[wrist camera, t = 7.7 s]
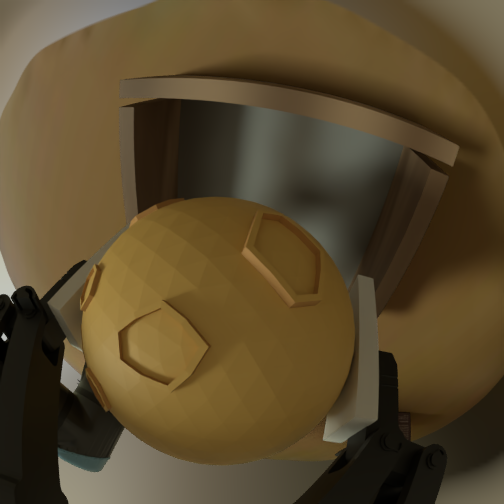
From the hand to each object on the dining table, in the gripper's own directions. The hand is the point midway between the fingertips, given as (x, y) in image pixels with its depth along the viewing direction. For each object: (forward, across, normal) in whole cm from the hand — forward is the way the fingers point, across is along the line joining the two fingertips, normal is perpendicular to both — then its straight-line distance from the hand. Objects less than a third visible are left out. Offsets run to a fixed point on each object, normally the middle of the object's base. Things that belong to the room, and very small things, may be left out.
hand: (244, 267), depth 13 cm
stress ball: (+1, 0, 0) cm, 1 cm away
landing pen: (+7, 0, 0) cm, 7 cm away
